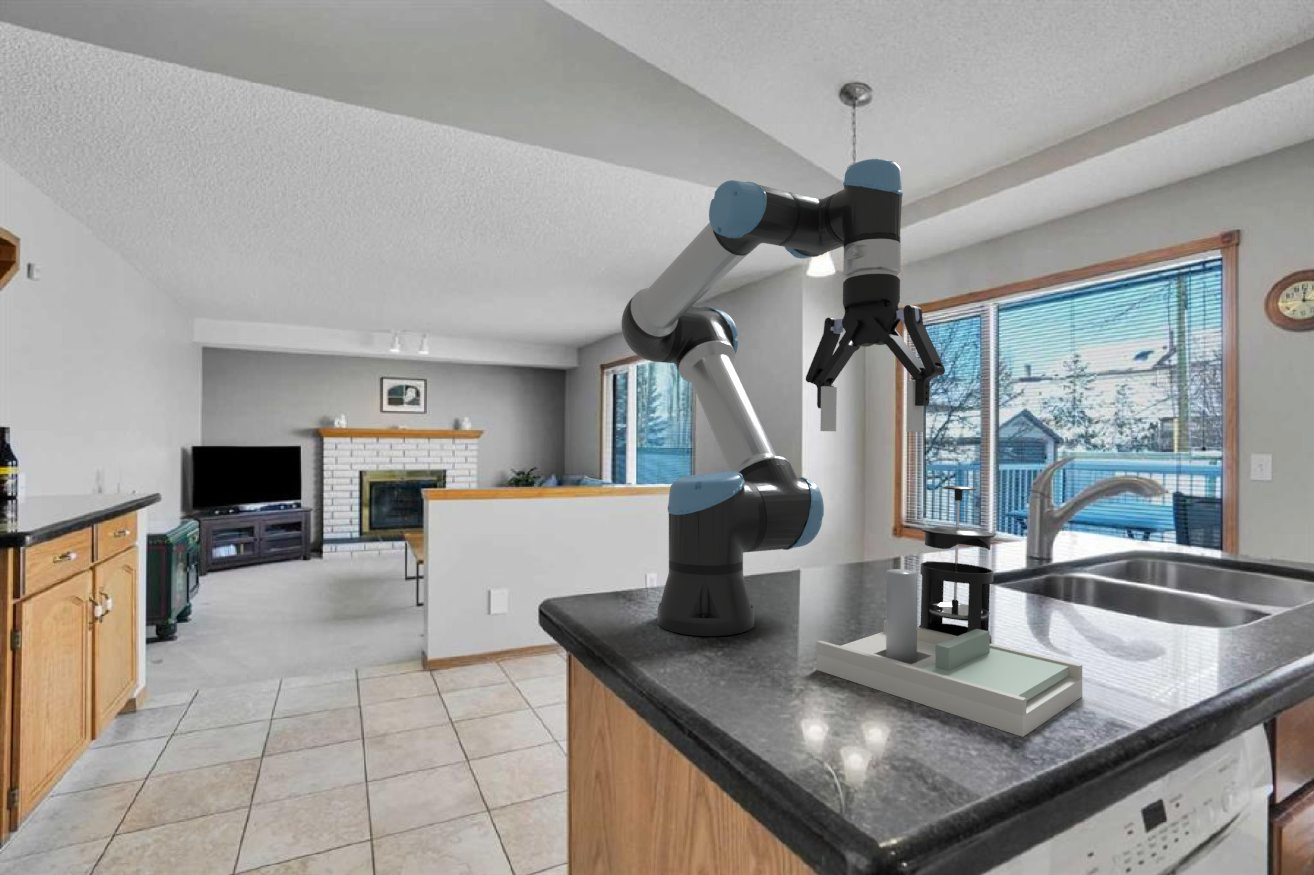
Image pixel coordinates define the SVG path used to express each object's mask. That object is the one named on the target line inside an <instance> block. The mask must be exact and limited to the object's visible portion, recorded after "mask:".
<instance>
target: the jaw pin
mask: <svg viewBox="0 0 1314 875" xmlns="http://www.w3.org/2000/svg"><path fill="white" fill-rule="evenodd" d="M885 575H886V576H885V577H886V578H885V579H886V580H885V581H886V583H885V589H886V590H885V591H886V596H885V607H886V608H885V618H886V619H885V620H886V657H887V658H890V659H894V660H898V661H901V662H905V663H908V664H913V663H916V662H917V627H918V572H917V571H914V570H911V569H903V568H900V569H899V568H897V569H896V568H895V569H893V568H891V569H887V570H886V574H885Z"/></svg>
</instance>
